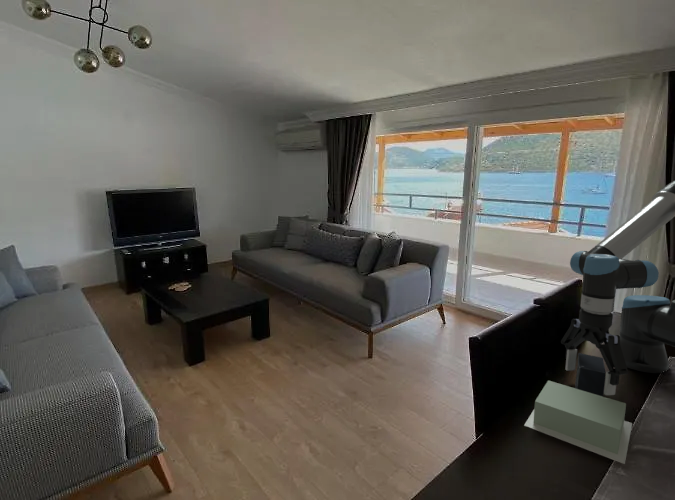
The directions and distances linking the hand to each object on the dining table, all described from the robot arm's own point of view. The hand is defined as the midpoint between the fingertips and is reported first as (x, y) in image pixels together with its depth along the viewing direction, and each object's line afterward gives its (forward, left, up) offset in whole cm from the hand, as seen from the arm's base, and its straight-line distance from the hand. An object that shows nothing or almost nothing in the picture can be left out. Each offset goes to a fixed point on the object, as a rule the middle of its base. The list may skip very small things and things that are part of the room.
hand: (588, 381), depth 104 cm
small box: (0, 0, -5) cm, 5 cm away
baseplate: (+14, +12, -4) cm, 19 cm away
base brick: (+14, +12, -3) cm, 19 cm away
